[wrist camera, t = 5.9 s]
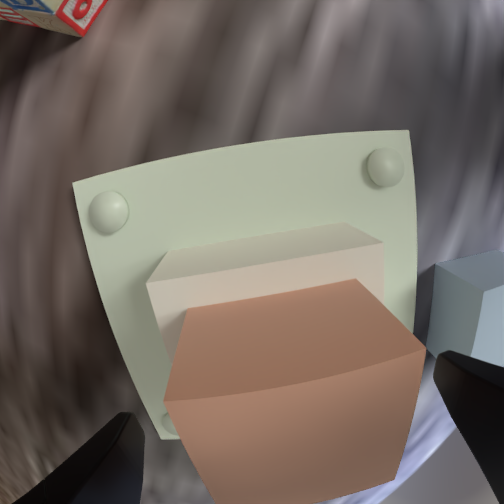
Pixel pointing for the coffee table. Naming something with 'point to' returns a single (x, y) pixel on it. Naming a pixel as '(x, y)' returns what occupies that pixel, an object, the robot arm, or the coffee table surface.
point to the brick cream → (261, 270)
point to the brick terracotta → (294, 394)
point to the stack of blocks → (53, 14)
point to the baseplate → (241, 223)
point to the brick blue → (469, 307)
